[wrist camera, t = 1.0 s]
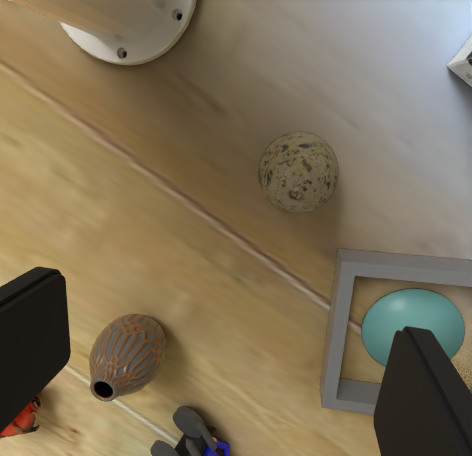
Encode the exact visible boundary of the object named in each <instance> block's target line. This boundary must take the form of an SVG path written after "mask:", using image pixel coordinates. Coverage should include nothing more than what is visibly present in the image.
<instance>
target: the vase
mask: <svg viewBox="0 0 472 456" xmlns="http://www.w3.org/2000/svg"><path fill="white" fill-rule="evenodd" d="M165 354H166V338H165V335H164V332H163V330H162V328H161V327H160V326H159V324H158V323H157V322H156V321H154V320H153V319H152V318H150V317H148V316H145V315H140V314H130V315H126V316H123V317H120V318H118V319H116V320H115V321H113V322H112V323H110V324H109V325H108V326H107V327H106V328H105V329H104V330H103V331H102V332H101V333H100V335H99V336H98V338H97V339H96V341H95V343H94V345H93V348H92V351H91V354H90V363H89V364H90V373H91V378H92V380H91V385H90V389H91V392H92V394H93V395H94V396H95V397H96V398H97V399H99V400H101V401H111V400H113V399H115V398H116V397H118V396H123V395H128V394H132V393H134V392H137V391H139V390H140V389H142V388H143V387H145V386H146V385H147V384H148V383H149V382H151V380H152V379H153V378H154V377H155V376H156V375H157V373H158V371H159V370H160V368H161V366H162V363H163V361H164V358H165Z"/></svg>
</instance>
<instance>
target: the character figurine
mask: <svg viewBox="0 0 472 456" xmlns="http://www.w3.org/2000/svg"><path fill="white" fill-rule="evenodd" d="M173 420H174V422H175V424H176V426H177V427H178V428H179V429H180V430H181V431H182V432H183V433H184V435H183V436H182V438H181V440H180V441H179V443H178V444H177V446H176V447H175V449H174V448H173V447H171V446H170V445H169V444H167V443H166V442H163V441H160V440H157V441H156V442H155V443H154V444H153V446H152V447H151V454H152V456H218V454H217V453H216V451H215V449H216V448H220V449H223V456H230V454H229V444H228V443H224V442H221V441H217V439H216V438H215V437H212V436H213V434H214V432H215V430H216V428H215V427H210V426H205V424H204V421H203V420H202V418H201V417H200V416H199V415H198V414H197V413H196V412H195V411H193V410H192V409H190V408H187V407H183V406H182V407H179V408H178V409H177V410H176V412H175V413H174V415H173Z"/></svg>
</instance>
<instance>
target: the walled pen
mask: <svg viewBox="0 0 472 456" xmlns="http://www.w3.org/2000/svg"><path fill="white" fill-rule="evenodd" d="M355 276H363V277H373V278H384V279H394V280H404V281H414V282H425V283H435V284H445V285H456V286H466V287H472V260H465V259H454V258H442V257H430V256H419V255H407V254H396V253H384V252H373V251H361V250H350V249H338V251H337V259H336V267H335V274H334V282H333V289H332V297H331V304H330V312H329V319H328V327H327V334H326V342H325V349H324V357H323V364H322V372H321V380H320V393H321V404H322V407H323V408H330V409H336V410H343V411H350V412H356V413H363V414H369V415H374V411H375V407H376V403H377V399H378V395H379V391H380V388H381V384H378V383H371V382H364V381H356V380H349V379H342V378H339V377H340V370H341V363H342V357H343V350H344V344H345V337H346V331H347V324H348V318H349V311H350V305H351V298H352V292H353V285H354V278H355ZM405 326H410V327H416V328H423V329H428V330H431V331H432V332H433V334H434V336H435V337H436V339H437V340H438V342H439V343H440V345H441V347H442V348H443V350H444V351H445V353H446V354H447V356H448V358H449V359H451V358H452V357H453V356H454V355H455V354H456V352H457V351H458V350H459V348H460V346H461V344H462V342H463V339H464V334H465V327H464V321H463V318H462V316H461V314H460V312H459V310H458V309H457V308H456V306H455V305H454V304H453V303H452V302H451V301H450V300H448V299H447V298H446V297H444V296H442V295H440V294H438V293H436V292H433V291H430V290H425V289H416V288H412V289H403V290H398V291H395V292H392V293H390V294H387V295H385V296H384V297H382V298H380V299H379V300H378V301H376V302H375V303H374V304H373V305H372V306H371V308H370V309H369V310H368V312H367V313H366V315H365V317H364V320H363V323H362V339H363V342H364V345H365V347H366V349H367V351H368V353H369V354H370V355H371V356H372V357H373V358H374V359H375V360H376V361H377V362H379V363H380V364H381V365H383V366H385V367H386V365H387V361H388V357H389V353H390V349H391V346H392V342H393V338H394V335H395V332H396V331H397V330H400V331H402V330H403V328H404V327H405ZM470 392H471V393H472V386H471V389H470Z"/></svg>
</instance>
